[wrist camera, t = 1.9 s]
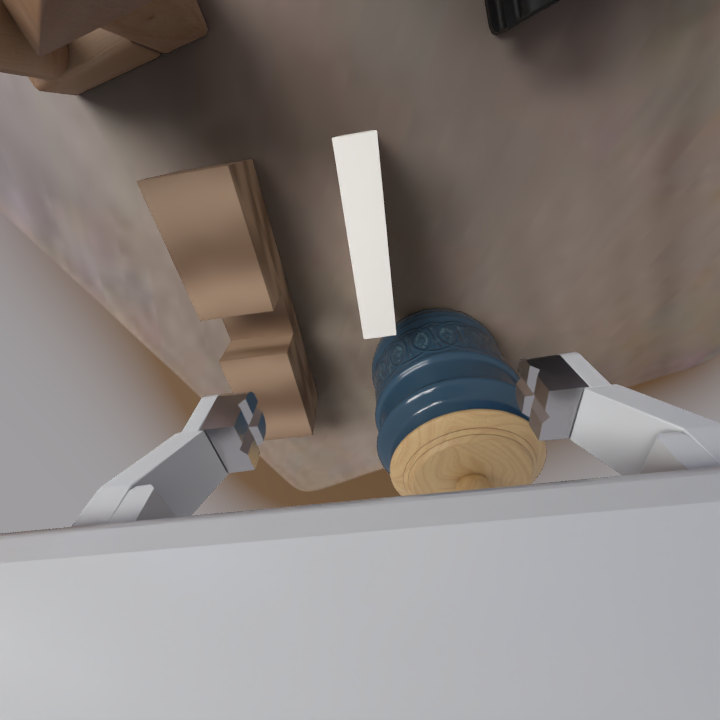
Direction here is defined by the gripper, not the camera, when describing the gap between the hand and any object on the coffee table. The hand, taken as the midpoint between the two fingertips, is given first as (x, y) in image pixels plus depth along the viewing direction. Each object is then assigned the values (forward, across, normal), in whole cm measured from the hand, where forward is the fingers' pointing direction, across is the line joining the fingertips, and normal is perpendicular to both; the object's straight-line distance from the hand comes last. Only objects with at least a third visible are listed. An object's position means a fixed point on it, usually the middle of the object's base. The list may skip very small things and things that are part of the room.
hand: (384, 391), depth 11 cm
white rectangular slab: (+22, 0, 0) cm, 22 cm away
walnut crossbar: (+22, +11, +6) cm, 25 cm away
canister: (+22, -5, +14) cm, 27 cm away
